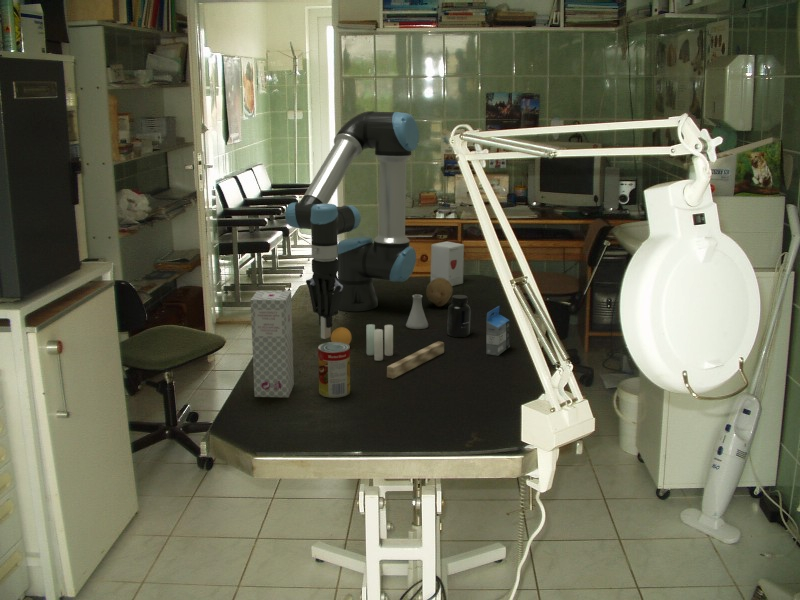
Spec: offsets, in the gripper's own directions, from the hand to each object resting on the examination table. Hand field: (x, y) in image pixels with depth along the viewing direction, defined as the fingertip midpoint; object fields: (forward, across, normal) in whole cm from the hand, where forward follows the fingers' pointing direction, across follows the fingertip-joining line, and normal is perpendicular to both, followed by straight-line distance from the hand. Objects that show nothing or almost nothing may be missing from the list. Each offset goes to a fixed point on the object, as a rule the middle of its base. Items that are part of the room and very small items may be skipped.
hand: (325, 337), depth 258 cm
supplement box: (+2, -11, +82) cm, 83 cm away
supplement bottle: (+2, +26, +32) cm, 41 cm away
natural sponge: (+2, +4, +54) cm, 54 cm away
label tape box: (+2, +43, +25) cm, 50 cm away
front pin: (+2, +16, +1) cm, 16 cm away
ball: (-1, +5, +1) cm, 5 cm away
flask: (+2, +11, +31) cm, 33 cm away
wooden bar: (+2, +31, +2) cm, 31 cm away
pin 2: (+2, +20, +4) cm, 21 cm away
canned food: (+3, +26, -28) cm, 38 cm away
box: (+3, +14, -36) cm, 38 cm away
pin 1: (+2, +20, -1) cm, 20 cm away
